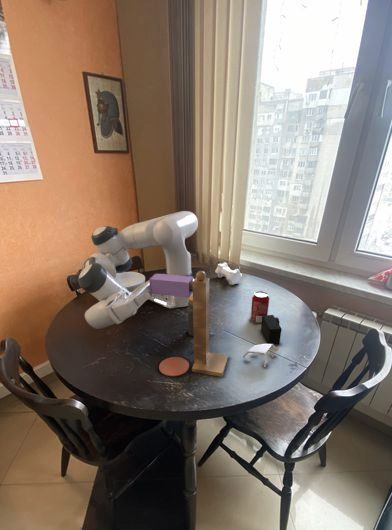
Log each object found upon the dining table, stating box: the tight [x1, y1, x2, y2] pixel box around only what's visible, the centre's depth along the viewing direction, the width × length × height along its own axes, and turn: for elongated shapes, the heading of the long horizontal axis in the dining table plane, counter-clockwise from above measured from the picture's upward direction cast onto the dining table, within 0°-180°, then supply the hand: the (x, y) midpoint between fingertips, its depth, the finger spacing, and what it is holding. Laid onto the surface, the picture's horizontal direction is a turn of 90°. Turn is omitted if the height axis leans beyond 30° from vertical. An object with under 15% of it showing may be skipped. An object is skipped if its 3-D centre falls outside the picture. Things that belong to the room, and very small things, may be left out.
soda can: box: [249, 290, 270, 324], centre depth 123 cm, size 7×7×12 cm
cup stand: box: [189, 270, 229, 378], centre depth 93 cm, size 18×10×33 cm, turn 74°
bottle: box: [186, 295, 194, 337], centre depth 115 cm, size 6×6×15 cm
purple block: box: [148, 273, 194, 297], centre depth 89 cm, size 12×5×5 cm, turn 74°
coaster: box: [158, 356, 190, 378], centre depth 100 cm, size 10×10×1 cm
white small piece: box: [242, 343, 279, 368], centre depth 101 cm, size 12×8×5 cm
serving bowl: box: [115, 271, 146, 292], centre depth 151 cm, size 21×21×7 cm
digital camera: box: [260, 314, 283, 346], centre depth 113 cm, size 10×5×7 cm, turn 5°
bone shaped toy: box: [214, 261, 243, 286], centre depth 161 cm, size 15×9×8 cm, turn 27°
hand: (156, 288), depth 91 cm, fingers open, 8 cm apart
